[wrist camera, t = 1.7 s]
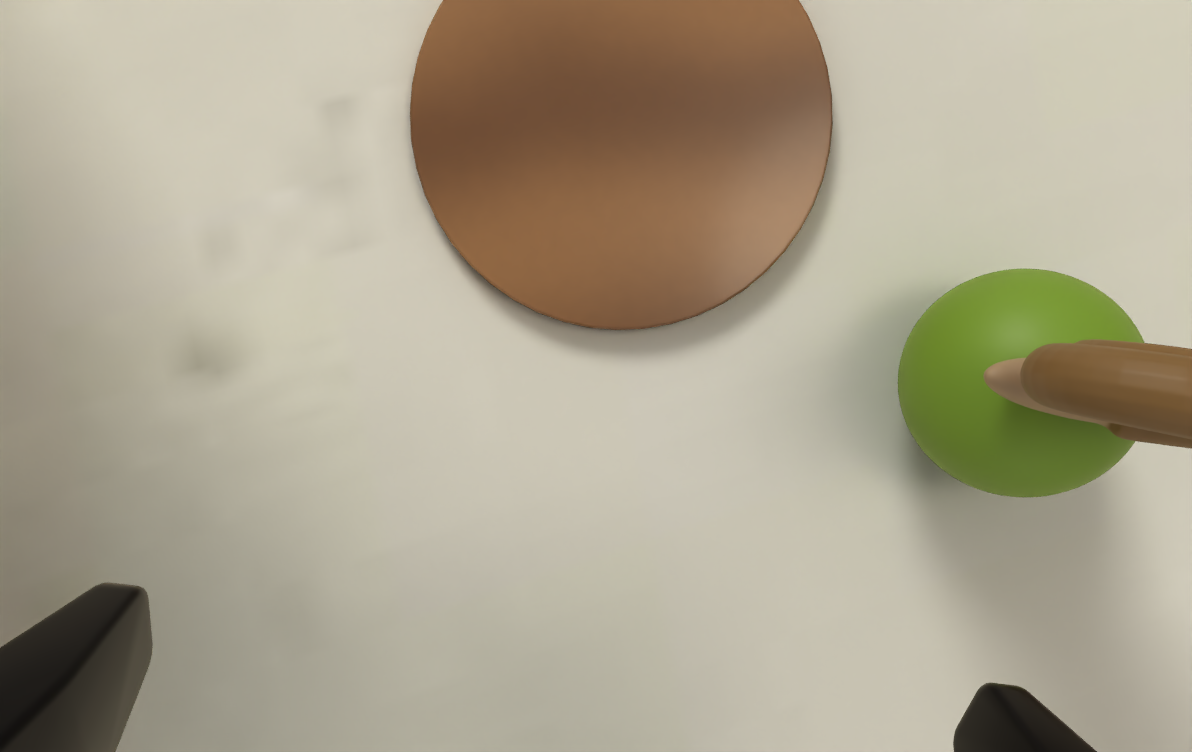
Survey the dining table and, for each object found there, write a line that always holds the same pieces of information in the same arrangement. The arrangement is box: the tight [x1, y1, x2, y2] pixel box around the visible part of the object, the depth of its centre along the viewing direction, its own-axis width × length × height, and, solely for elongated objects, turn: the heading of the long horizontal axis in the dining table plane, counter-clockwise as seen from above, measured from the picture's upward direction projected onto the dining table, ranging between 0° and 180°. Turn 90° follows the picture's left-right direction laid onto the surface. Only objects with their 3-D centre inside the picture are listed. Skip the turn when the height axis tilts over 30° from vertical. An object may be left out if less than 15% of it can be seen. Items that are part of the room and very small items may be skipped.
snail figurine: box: [898, 269, 1192, 497], centre depth 17 cm, size 5×6×12 cm
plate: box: [410, 0, 833, 330], centre depth 23 cm, size 11×11×1 cm
